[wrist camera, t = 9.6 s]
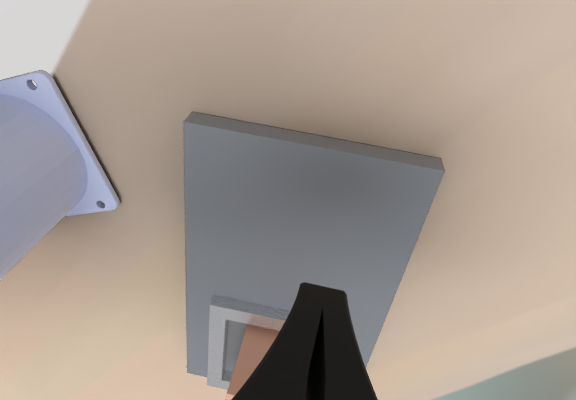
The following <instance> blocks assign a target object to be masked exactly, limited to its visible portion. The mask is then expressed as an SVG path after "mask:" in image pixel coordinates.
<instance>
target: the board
mask: <svg viewBox="0 0 576 400" xmlns="http://www.w3.org/2000/svg"><path fill="white" fill-rule="evenodd" d="M444 172H445V170H444V167H443V164H442V161H441V158H436V157H431V156H426V155H420V154H415V153H410V152H404V151H399V150H394V149H388V148H383V147H378V146H372V145H367V144H362V143H356V142H351V141H346V140H340V139H335V138H330V137H324V136H319V135H314V134H308V133H303V132H298V131H292V130H287V129H282V128H276V127H271V126H266V125H260V124H255V123H250V122H244V121H239V120H234V119H228V118H223V117H218V116H212V115H207V114H202V113H196V112H192V113H191V114H190V115H189V116H188V117H187V118H186V120H185V121H184V187H185V256H186V325H187V373H191V374H195V375H200V376H204V377H207V374H208V344H209V314H210V303H211V301H212V298H213V296H214V295H217V296H222V297H226V298H231V299H236V300H241V301H245V302H250V303H255V304H260V305H264V306H269V307H274V308H279V309H283V310H288V311H291V309H292V307H293V304H294V302H295V299H296V297H297V294H298V291H299V286H300V284H301V283H303V282H306V283H311V284H315V285H320V286H324V287H329V288H333V289H338V290H342V291H345V293H346V294H347V300H348V306H349V312H350V316H351V321H352V325H353V329H354V333H355V336H356V340H357V343H358V346H359V350H360V353H361V356H362V359H363V362H364V365H365V368H366V366H367V363H368V361H369V359H370V356H371V354H372V351H373V349H374V346H375V344H376V341H377V339H378V336H379V334H380V331H381V329H382V326H383V324H384V321H385V319H386V316H387V314H388V311H389V309H390V306H391V304H392V301H393V299H394V296H395V294H396V291H397V289H398V286H399V284H400V281H401V279H402V276H403V274H404V271H405V269H406V266H407V264H408V261H409V259H410V256H411V254H412V251H413V249H414V246H415V244H416V241H417V239H418V236H419V234H420V231H421V229H422V226H423V224H424V221H425V219H426V216H427V214H428V211H429V209H430V206H431V204H432V201H433V199H434V197H435V194H436V192H437V189H438V187H439V184H440V182H441V179H442V177H443V174H444ZM246 326H247V324H245V323H241V322H236V321H231V320H228V330H227V343H226V357H225V370H227V371H232V372H233V371H234V368H235V364H236V361H237V357H238V354H239V350H240V347H241V344H242V340H243V337H244V333H245V330H246Z"/></svg>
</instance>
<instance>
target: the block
mask: <svg viewBox="0 0 576 400" xmlns="http://www.w3.org/2000/svg"><path fill="white" fill-rule="evenodd" d="M279 332H280V331H278V330H273V329H269V328H264V327H259V326H255V325H250V324H247V326H246V330H245V333H244V337H243V340H242V344H241V347H240V350H239V354H238V357H237V361H236V364H235V368H234V371H233V374H232V378H231V381H230V385H229V388H228V392H227V395H226V398H225V400H231V399H232V398H233V397H234V396H235V395H236V393H237V392H238V391H239V390H240V389H241V387H242V386H243V385H244V383H245V382H246V381H247V379H248V378H249V377H250V376H251V374H252V373H253V371H254V370H255V369H256V367H257V366H258V364H259V363H260V362H261V360H262V359H263V357H264V356H265V354H266V353H267V351H268V349H269V348H270V346H271V345H272V343H273V342H274V340H275V339H276V337H277V335H278V333H279Z"/></svg>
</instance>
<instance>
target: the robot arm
mask: <svg viewBox="0 0 576 400" xmlns="http://www.w3.org/2000/svg"><path fill="white" fill-rule="evenodd" d="M32 80H33V81H34V82H35V83H36V84H37V87H36V86H35V85H34V84H33V83H32ZM101 201H102V202H103V203H104V204H103V203H102V202H101ZM119 204H120V201H119V198H118V197H117V195H116V193H115V191H114V189H113V187H112V186H111V184H110V182H109V180H108V178H107V176H106V175H105V173H104V171H103V169H102V167H101V165H100V164H99V162H98V160H97V158H96V156H95V154H94V153H93V151H92V149H91V147H90V145H89V143H88V142H87V140H86V138H85V136H84V134H83V132H82V130H81V129H80V127H79V125H78V123H77V121H76V119H75V118H74V116H73V114H72V112H71V110H70V108H69V107H68V105H67V103H66V101H65V99H64V97H63V96H62V94H61V92H60V90H59V88H58V86H57V85H56V83H55V81H54V79H53V78H52V76H51V75H50V74H49V73H47V72H46V71H43V70H39V71H35V72H31V73H27V74H23V75H19V76H15V77H11V78H7V79H3V80H0V280H1V279H2V278H3V277H4V276H5V275H6V274H7V273H8V272H9V271H10V270H11V269H12V268H13V267H14V266H15V265H16V264H17V263H18V262H19V261H20V260H21V259H22V258H23V257H24V256H25V255H26V254H27V253H28V252H29V251H30V250H31V249H32V248H33V247H34V246H35V245H36V244H37V243H38V242H39V241H40V240H41V239H42V238H43V237H44V236H45V235H46V234H47V233H48V232H49V231H50V230H51V229H52V228H53V227H54V226H55V225H56V224H57V223H58V222H59V221H60V220H61V219H62V218H63V217H67V216H74V215H81V214H89V213H96V212H103V211H111V210H115V209H116V208H117V207H118V205H119ZM231 400H378V399H377V397H376V394H375V392H374V390H373V387H372V384H371V382H370V379H369V376H368V374H367V371H366V368H365V365H364V362H363V359H362V356H361V353H360V350H359V346H358V343H357V340H356V336H355V333H354V329H353V325H352V321H351V316H350V312H349V306H348V300H347V294H346V293H345V291H342V290H338V289H333V288H329V287H324V286H320V285H315V284H311V283H306V282H303V283H301V284H300V286H299V291H298V294H297V297H296V299H295V302H294V304H293V307H292V309H291V311H290V313H289V315H288V317H287V319H286V321H285V323H284V324H283V326H282V328H281V330H280V332H279V333H278V335H277V337H276V339H275V340H274V342H273V343H272V345H271V346H270V348H269V349H268V351H267V353H266V354H265V356H264V357H263V359H262V360H261V362H260V363H259V364H258V366H257V367H256V369H255V370H254V371H253V373H252V374H251V376H250V377H249V378H248V379H247V381H246V382H245V383H244V385H243V386H242V387H241V389H240V390H239V391H238V392H237V393H236V395H235V396H234V397H233V398H232V399H231Z"/></svg>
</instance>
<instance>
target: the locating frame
mask: <svg viewBox="0 0 576 400" xmlns="http://www.w3.org/2000/svg"><path fill="white" fill-rule="evenodd" d="M289 313H290V311H288V310H283V309H279V308H274V307H269V306H264V305H260V304H255V303H250V302H245V301H241V300H236V299H231V298H226V297H222V296H217V295H214V296H213V298H212V301H211V303H210V314H209V344H208V374H207V385H209V386H214V387H218V388H223V389H227V390H228V388H229V385H230V381H231V378H232V374H233V372H232V371H227V370H225V357H226V343H227V330H228V320H231V321H236V322H241V323H245V324H250V325H255V326H259V327H264V328H269V329H273V330H278V331H280V330H281V328H282V326H283V324H284V323H285V321H286V319H287V317H288V315H289Z"/></svg>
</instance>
